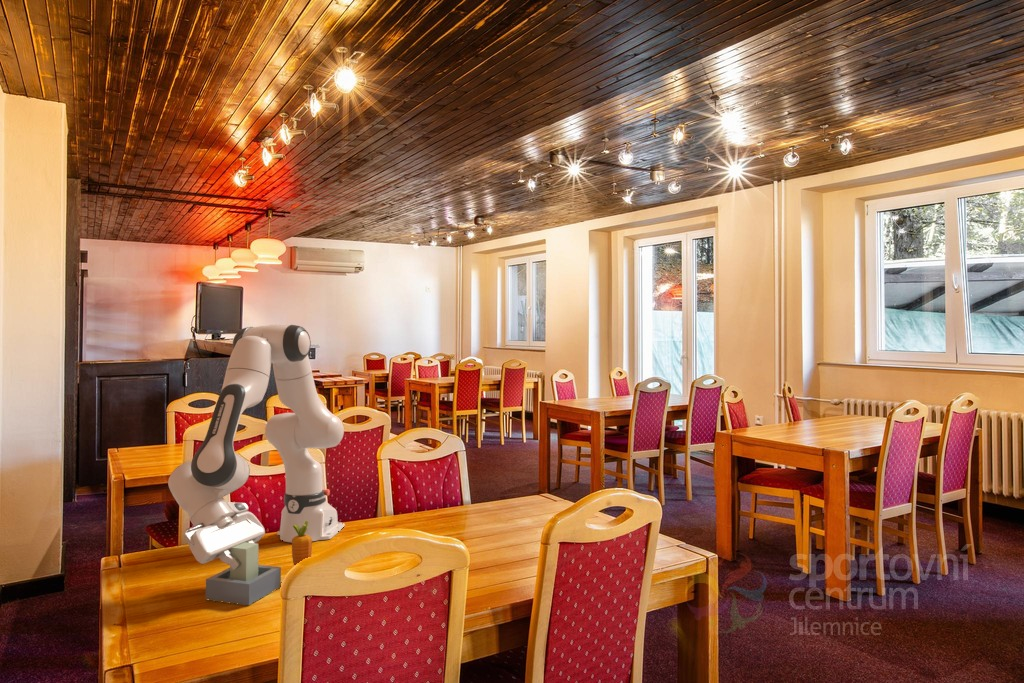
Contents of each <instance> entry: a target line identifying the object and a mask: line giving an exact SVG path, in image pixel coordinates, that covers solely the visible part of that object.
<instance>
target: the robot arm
mask: <svg viewBox="0 0 1024 683" xmlns="http://www.w3.org/2000/svg"><path fill="white" fill-rule="evenodd" d="M311 343H312V341H311V337H310V334H309V332H308V330H306V329H305V328H304V326H300V325H295V324H290V325H287V324H268V325H261V326H260V325H259V326H246V327H244V328H240V329H239V330H238V331H237V332H236V334H235V335H234V337H233V339H232V351H231V354H230V357H229V358H228V359H229V360H228V363H227V367H226V370H225V373H224V374H225V375H224V380H223V384H222V387H221V391H220V393H219V396H218V398H217V400H216V403H215V406H214V410H213V413H212V417H211V419H210V423H209V426H208V429H207V431H206V436H205V438H204V439H203V442H201V443H202V444H201V445H200V446H199V447H198V449H197V450H196V452H195V454H194V455H193V457H192V459H191V461H190V460H189V461H185V462H183V463H181V464H180V465H178V466H177V467H175V469H174V470H173V471H172V472H171V474H170V476H169V478H168V480H167V484H168V488H169V490H170V493H171V494H172V496H173V498H174V500H175V501H176V503H177V504H178V506H179V507H180V508H181V510H183V512H186V513H187V515H188V517H189V521H190V522H191V523H192V525H193V526H191V527H188V528H186V529H185V531H184V535H183V537H184V538H185V539H184V540H186V542H187V544H188V548H189V549H190V551H191V553H192V555H193V557H194V558H195V560H196V562H198V563H200V564H201V565H203V564H206V563H209V562H211V561H214V560H216V559H219V560H220V561H221V562H222V563H225V564H227V565H229V567H230V566H231V568H232V569H233V570H234V569H237V568H239V566H240V565H241V562H240V561H239V559H238V558H237V559H235V558H233V557H232V556H230V548H232V547H235V546H237V545H240V544H242V543H245V542H247V543H257V542H259V541H260V540H261V539H262V538H263V536H264V535H266V530H265V527H264V525H263V524H262V523H261V521H260V520H259V519H258V518H257V516H256V515H255V514H254V513H252V512H251V511H249V506H248V504H247V503H245V502H235V501H233V502H231V501H226V500H225V498H224V497H225V496H228V495H230V494H232V493H233V492H235V491H237V490H239V489H241V488H242V487H243V486H244V485H245V484H246V483H247V481H248V479H249V477H250V472H251V469H250V465H249V463H248V461H247V460H246V459H245V458H244V457H242V456H241V455H240V454H238V453H236V452H235V449H234V441H235V437H236V433H237V431H238V426H239V423H240V419H241V417H242V414H243V413H244V411H245V410H246V409H250V408H253V407H255V406H257V405H258V404H260V403H261V402H262V401H263V399H264V396H265V394H266V392H267V389H268V386H269V381H270V376H271V375H270V374H271V368H273V369H272V370H273V374H274V380H275V384H276V386H275V387H276V390H277V395H278V399H279V401H280V402H281V404H283V406H285V407H287V408H288V409H290V410H291V411H292V412H283V413H278V414H275V415H272V416H271V417H270V418H269V419H268V420H267V422H266V424H265V428H264V431H265V432H264V433H265V438H266V440H267V441H268V442H269V443H270V444H271V445H272V446H273V447H274V448H275V449H276V451H277V452H278V454H279V456H280V458H281V460H282V463H283V466H284V474H285V475H284V476H285V492H284V496H283V504H284V507H283V508H282V510H281V517H280V518H281V519H280V526H279V530H277V534H276V535H277V536H278V535H280V536H279V539H280V540H281V541H282V540H283V541H282V542H286V543H292V539H293V538H294V537H295V536H297V535H298V534H297V532H296V530H295V529H294V527H293V525H296V524H297V525H298V526H299V529H300V528H302V526H303V524H305V521H306V520H307V521H308V525H307V528H308V529H307V530H306V532H305V534H307V535H309V536H310V537H311V538H312V542H316V541H325V540H330V539H332V538H333V537H335V536H336V535H337V534H338V533H339V532H340V531H342V530H343V529H344V528H345V527H346V525H345V523H344V522H341V521H338V511H337V509H336V508H335V507H333V506H332V505H331V504H330V503H328V501H326V500H327V498H326V496H330V494H331V490H330V489H328V488H327V489H325V488H323V467H322V465H321V463H320V462H319V461H317V460H316V459H314V458H313V456H312V455H311V454H310V451H309V449H316V450H317V449H318V450H320V449H321V450H324V449H328V448H329V449H330V448H334V447H337V446H339V444H340V443H341V441H342V440H343V437H344V434H345V428H344V424H343V422H342V420H341V419H340V418H339V416H336V415H335V414H333V413H332V412H331V411H330V410H329V409H328V407H326V405H325V404H324V402H323V401H322V400H321V398H320V396H319V394H318V392H317V388H316V383H315V380H314V374H313V370H312V364H311V361H310V356H309V352H310V350H311V345H312V344H311ZM342 523H343V524H342ZM344 526H345V527H344ZM343 527H344V528H343ZM342 528H343V529H342ZM341 529H342V530H341ZM338 531H339V532H338ZM258 558H259V554H258Z"/></svg>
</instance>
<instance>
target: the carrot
mask: <svg viewBox="0 0 1024 683" xmlns="http://www.w3.org/2000/svg"><path fill="white" fill-rule="evenodd" d="M307 525H308V521H307V520H306V521H305V524H303V526H302V528H300V529H299V526H298V525H297V524H296V525H293V527H294V529H295V530H296V532H297V534H298V535H297V536H295V537H294V538H293V539H292V542H291V555H292V562H293V563H292V564H293V566H294V565H296V564H297V563H299V562H300V561H302V560H303V559H305V558H308V557H311V558H312V551H313V550H312V547H313V541H312V538H311V537H310V536H309V535H307V534H305V532H306V530H307V529H308V528H307Z"/></svg>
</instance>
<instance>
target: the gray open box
mask: <svg viewBox="0 0 1024 683" xmlns="http://www.w3.org/2000/svg"><path fill="white" fill-rule="evenodd" d="M281 576H282V567H281V566H273V565H265V564H264V565H263V564H258V576H257V577H255V578H253V579H251V580H250V581H241V580H232V579H230V567H229V568H226V569H224V570H222V571H219V572H218V573H215V574H213V575H211V576H210V577H207V578H206V579H205V600H206V599H209V600H215V601H223V602H230V603H238V604H244V605H243V606H246V605H250V604H251V605H253V604H254V603H253V602H255V601H257V600H258V601H260V600H261V599H260V598H262V597H263V598H265V597H267V596H268V595H270V594H271V593H270V592H272V591H274V590H275V589H277V588H279V589H280V588H281V587H280V584H281V585H282V583H281V581H282V577H281ZM277 590H278V589H277ZM275 591H276V590H275ZM275 591H274V592H275ZM269 593H270V594H269ZM272 593H273V592H272ZM267 594H268V595H267ZM266 595H267V596H266ZM264 596H265V597H264ZM263 598H262V599H263ZM259 599H260V600H259ZM215 601H214V602H215ZM258 601H257V602H258ZM230 603H229V604H230ZM252 603H253V604H252ZM255 603H256V602H255ZM238 604H237V605H238ZM251 605H250V606H251Z"/></svg>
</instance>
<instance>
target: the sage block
mask: <svg viewBox="0 0 1024 683" xmlns="http://www.w3.org/2000/svg"><path fill="white" fill-rule="evenodd" d="M229 555H230V556H232V557H233V558H235V559H237V558H238V559H239V561H240V562H241V565H240V566H239V568H237V569H234V570H233V569H232V568H231V566H230V565H229V568H230V579H232V580H241V581H250V580H251V579H253V578H255V577H257V576H258V565H259V557H258V555H259V543H257V542H255V543H247V542H245V543H242V544H240V545H237V546H235V547H232V548H230V554H229Z"/></svg>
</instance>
